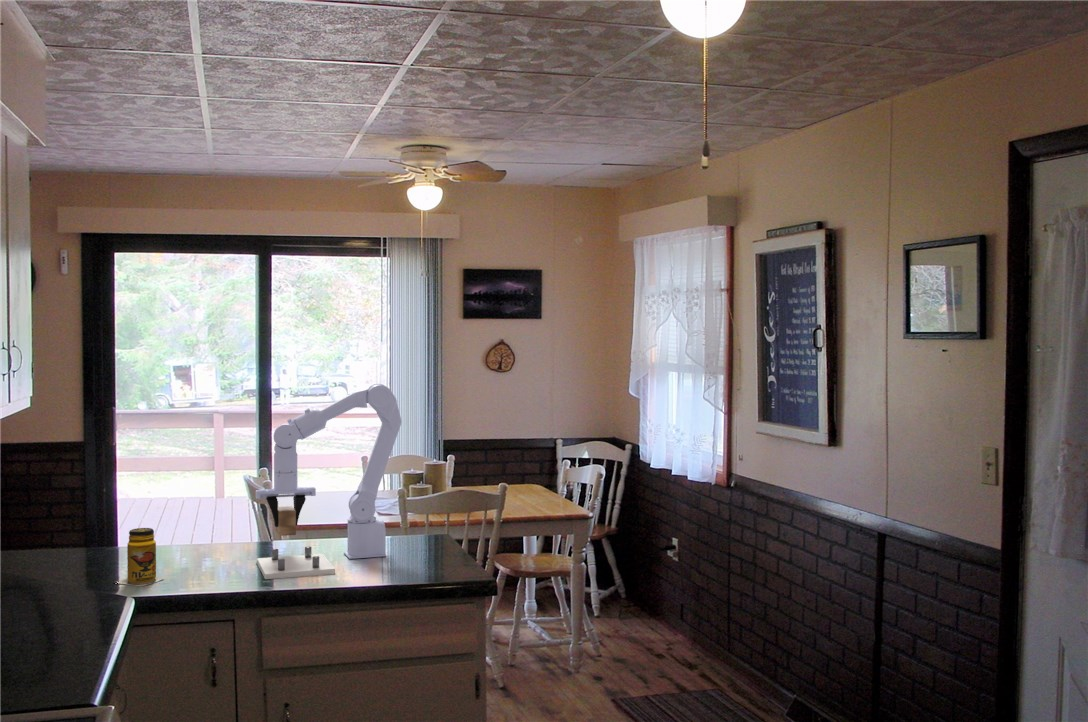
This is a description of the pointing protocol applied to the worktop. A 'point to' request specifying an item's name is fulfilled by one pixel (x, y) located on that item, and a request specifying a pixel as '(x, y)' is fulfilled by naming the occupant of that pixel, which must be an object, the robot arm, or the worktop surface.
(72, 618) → the worktop surface
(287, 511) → the walnut block
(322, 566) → the plate
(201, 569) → the worktop surface
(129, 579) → the condiment
